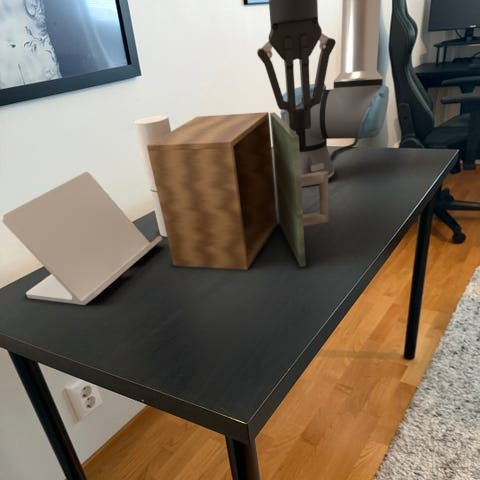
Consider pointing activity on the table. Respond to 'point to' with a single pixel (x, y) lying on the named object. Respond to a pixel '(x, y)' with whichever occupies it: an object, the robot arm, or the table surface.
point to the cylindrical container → (147, 134)
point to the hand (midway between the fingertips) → (301, 148)
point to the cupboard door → (294, 187)
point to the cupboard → (216, 189)
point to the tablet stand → (77, 240)
